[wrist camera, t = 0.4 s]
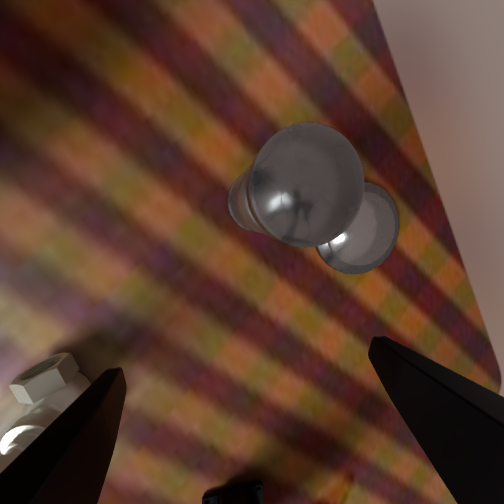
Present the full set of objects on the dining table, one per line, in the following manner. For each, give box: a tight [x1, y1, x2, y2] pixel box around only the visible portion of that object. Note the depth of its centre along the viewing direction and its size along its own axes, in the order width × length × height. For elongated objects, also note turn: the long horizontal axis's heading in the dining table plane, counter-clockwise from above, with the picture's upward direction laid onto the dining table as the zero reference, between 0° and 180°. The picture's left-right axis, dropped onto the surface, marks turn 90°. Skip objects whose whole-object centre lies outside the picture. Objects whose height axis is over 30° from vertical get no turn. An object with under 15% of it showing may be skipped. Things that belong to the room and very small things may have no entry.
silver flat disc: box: [316, 182, 399, 274], centre depth 23 cm, size 9×9×1 cm
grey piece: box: [227, 122, 365, 247], centre depth 16 cm, size 5×5×12 cm
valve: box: [0, 353, 91, 473], centre depth 15 cm, size 7×7×12 cm
